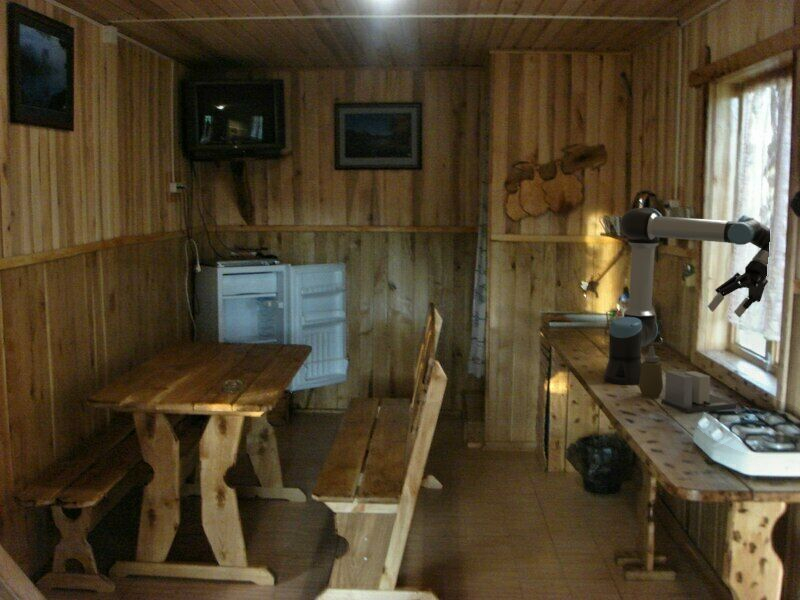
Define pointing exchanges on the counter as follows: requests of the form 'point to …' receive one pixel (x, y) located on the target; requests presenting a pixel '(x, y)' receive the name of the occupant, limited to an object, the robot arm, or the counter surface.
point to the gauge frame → (689, 395)
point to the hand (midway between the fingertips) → (723, 311)
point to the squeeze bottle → (651, 376)
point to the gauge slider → (700, 387)
